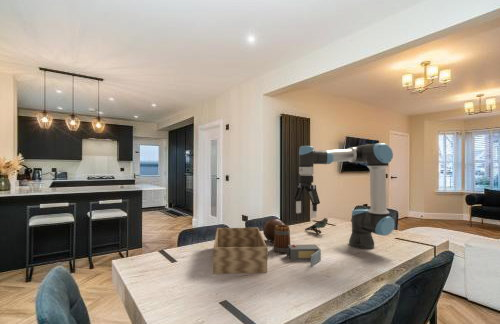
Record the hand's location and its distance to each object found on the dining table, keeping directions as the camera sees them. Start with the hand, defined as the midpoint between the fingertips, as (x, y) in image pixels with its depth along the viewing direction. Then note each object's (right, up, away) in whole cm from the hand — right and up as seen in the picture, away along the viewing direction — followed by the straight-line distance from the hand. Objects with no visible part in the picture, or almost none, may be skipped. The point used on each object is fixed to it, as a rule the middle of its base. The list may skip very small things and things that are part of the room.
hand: (305, 215), depth 139 cm
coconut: (-13, -25, +37) cm, 47 cm away
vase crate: (-36, -25, +5) cm, 44 cm away
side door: (+5, -25, -2) cm, 25 cm away
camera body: (0, -25, +7) cm, 26 cm away
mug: (-10, -25, +20) cm, 34 cm away
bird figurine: (+20, -26, +59) cm, 68 cm away
